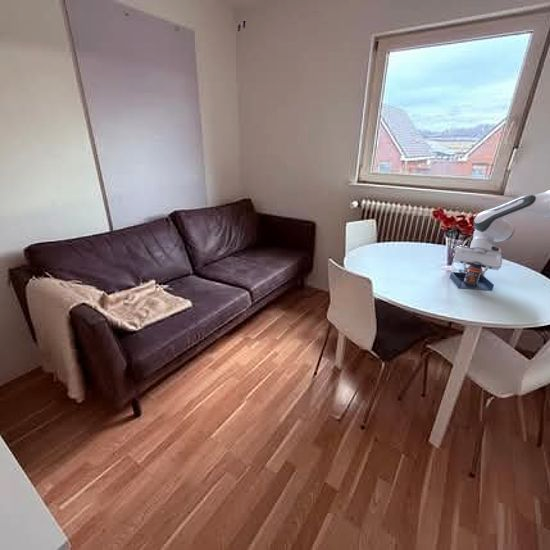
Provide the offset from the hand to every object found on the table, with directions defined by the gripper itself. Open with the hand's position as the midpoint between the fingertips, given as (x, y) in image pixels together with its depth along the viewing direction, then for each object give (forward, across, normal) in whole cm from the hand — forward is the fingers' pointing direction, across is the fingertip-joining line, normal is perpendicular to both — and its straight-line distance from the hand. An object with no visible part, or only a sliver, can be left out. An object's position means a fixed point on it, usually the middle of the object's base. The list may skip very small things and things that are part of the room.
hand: (473, 273), depth 152 cm
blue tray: (+2, -2, +7) cm, 8 cm away
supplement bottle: (+4, 0, +5) cm, 6 cm away
